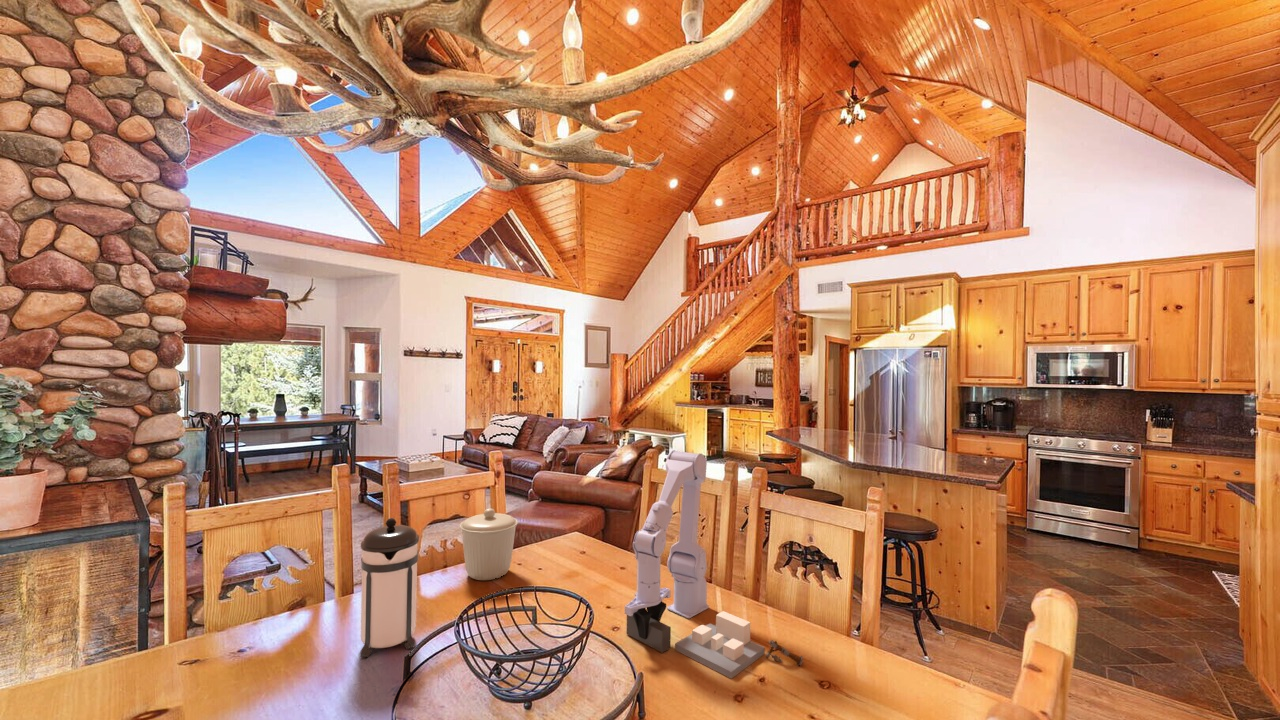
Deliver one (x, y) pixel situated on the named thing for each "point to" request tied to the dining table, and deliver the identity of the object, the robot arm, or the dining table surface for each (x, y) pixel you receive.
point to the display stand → (722, 645)
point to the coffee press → (388, 587)
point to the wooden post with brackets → (784, 651)
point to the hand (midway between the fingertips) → (648, 634)
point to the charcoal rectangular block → (651, 634)
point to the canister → (488, 544)
